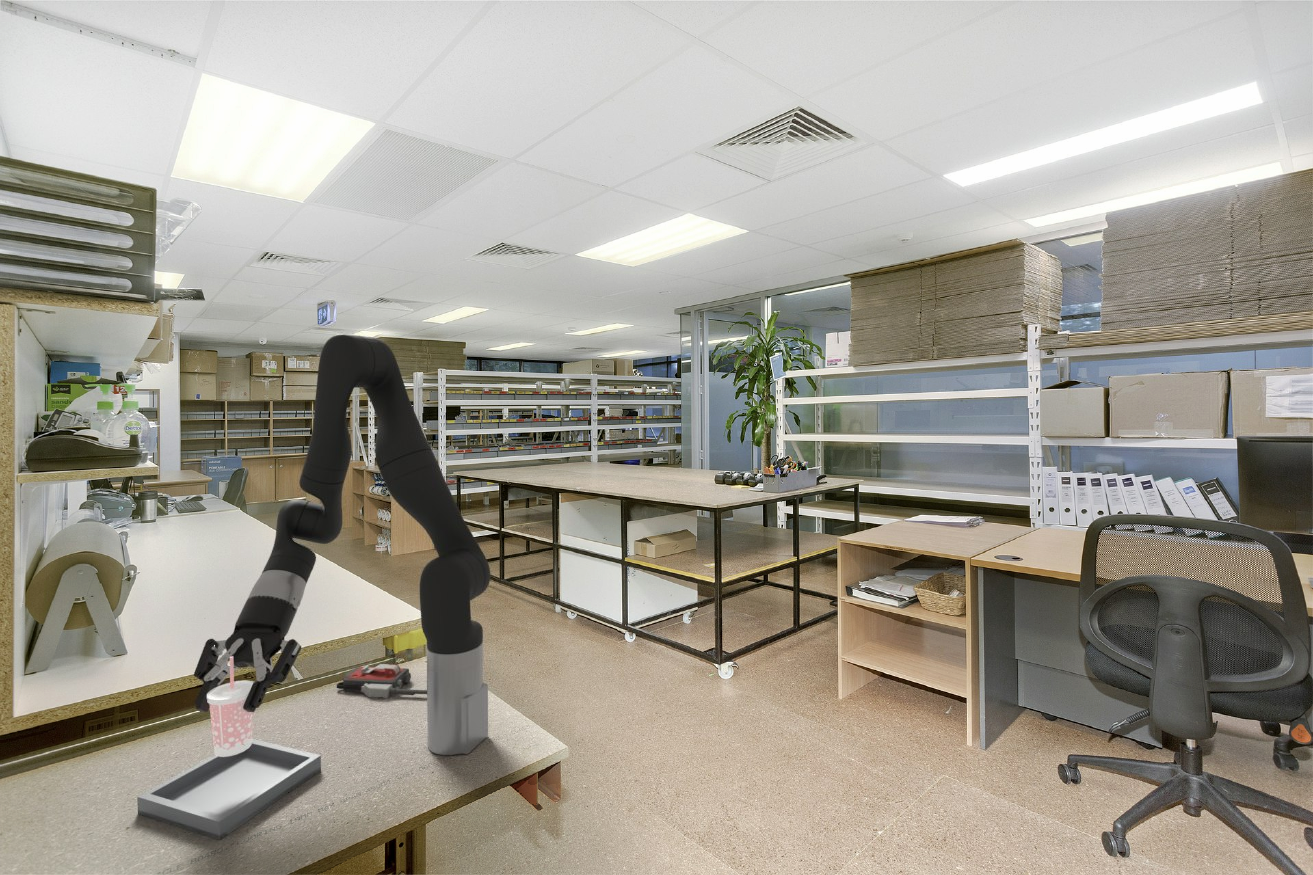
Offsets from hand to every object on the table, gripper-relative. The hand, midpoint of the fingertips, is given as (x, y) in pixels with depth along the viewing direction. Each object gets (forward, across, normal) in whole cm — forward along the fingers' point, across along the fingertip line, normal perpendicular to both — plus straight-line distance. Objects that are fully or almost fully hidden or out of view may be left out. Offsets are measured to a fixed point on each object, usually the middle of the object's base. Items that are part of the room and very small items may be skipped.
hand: (225, 710), depth 86 cm
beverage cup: (+4, 0, +6) cm, 7 cm away
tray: (+8, 0, +10) cm, 13 cm away
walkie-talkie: (-14, +10, +34) cm, 38 cm away
